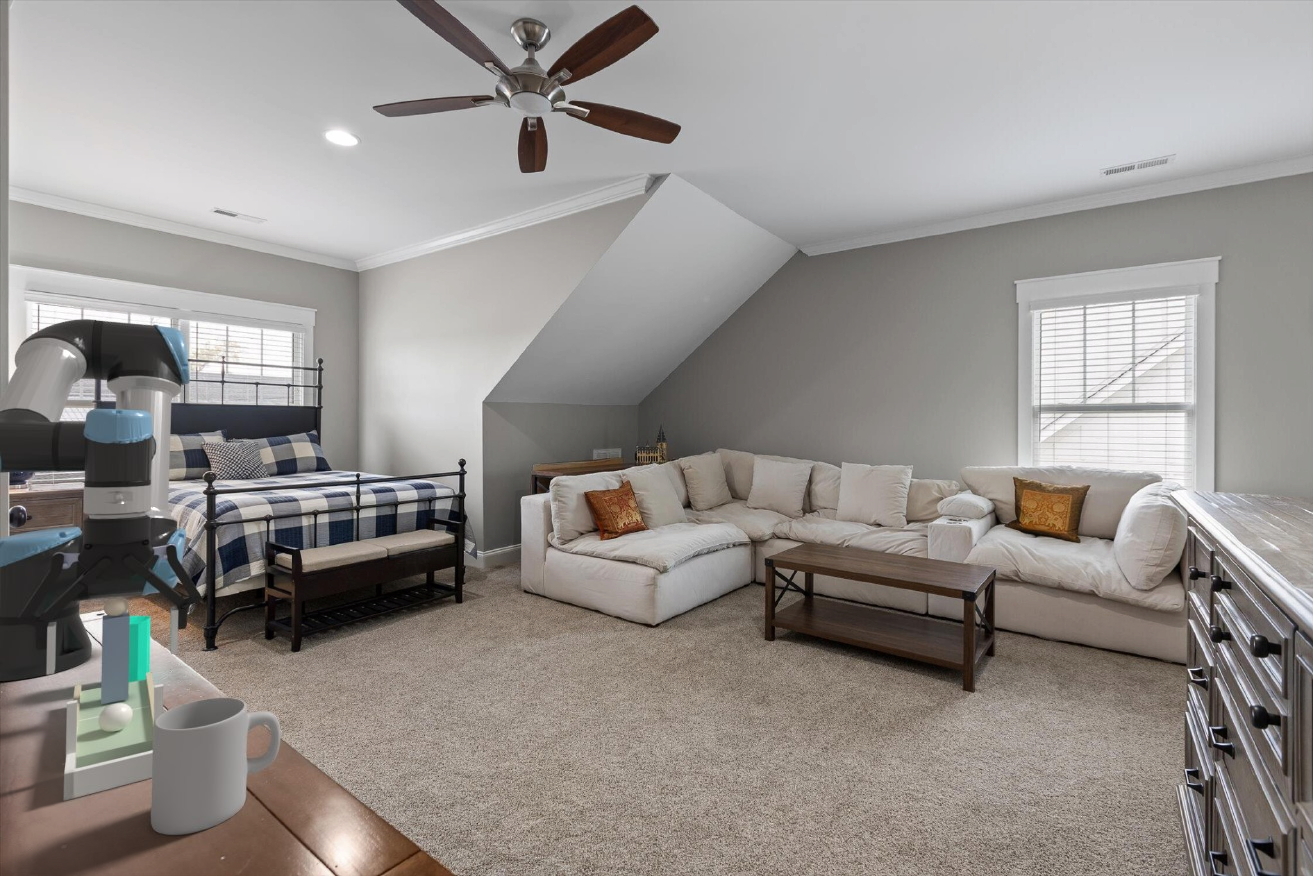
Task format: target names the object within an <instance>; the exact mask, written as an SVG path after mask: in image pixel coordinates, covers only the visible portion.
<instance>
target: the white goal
mask: <svg viewBox="0 0 1313 876" xmlns="http://www.w3.org/2000/svg"><path fill="white" fill-rule="evenodd" d="M162 713H164V683H160V684H154V721H155V720H156V718H157V717H158V716H160V715H161V714H162ZM153 725H154V724H153ZM65 729H66V733H65V735H66V736H65V737H66V739H65V742H66V743H65V764H64V765H65V766H64V773H63V774H64V775H63V776H64V777H63V801H64V802H65V801H68V800H72V799H73V800H74V799H76V798H80V797H84V796H89V795H91V794H96V793H99V792H102V791H107V790H112V789H115V788H119V787H122V786H126V785H129V784H133V783H136V782H137V783H138V782H141V781H145V780H149V779H152V764H153V750H151V751H147V752H143V753H139V754H135V755H131V756H126V757H122V758H118V759H114V760H110V761H106V762H101V763H97V764H93V765H89V766H85V767H81V768H77V769H76V753H77V700H74V701H73V700H70V701H66V728H65Z"/></svg>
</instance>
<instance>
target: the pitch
mask: <svg viewBox="0 0 1313 876" xmlns="http://www.w3.org/2000/svg"><path fill="white" fill-rule="evenodd" d="M154 685H155V683H154V677H153V672H152V671H150V672H149V673H146V679H145V680H140V681H134V682H129V691H128V699H126V700H121V701H116V702H110V703H105V704H101V687H96V688H91V689H90V688H89V689H87V690H82V684H77V685H75V686H74V691H73V699H72V701H74V700H77V753H76V769H77V768H81V767H85V766H89V765H93V764H97V763H101V762H106V761H110V760H114V759H118V758H122V757H126V756H131V755H135V754H139V753H143V752H147V751H151V750H153V724H154ZM116 703H124V704H127V705H129V706H130V707H131V709H132V711H133V717H132V720H131V721H130V723H129V724H128V725H127V726H126V727H125V728H123V729H121V730H119V731H116V732H107V731H104V730H102V729H101V728H100V726H99V724H98V718H99V716H100V714H101V712H102V711H103V710H104V709H105V708H106V707H108V706H110V705H112V704H116Z"/></svg>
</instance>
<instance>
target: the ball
mask: <svg viewBox="0 0 1313 876" xmlns="http://www.w3.org/2000/svg"><path fill="white" fill-rule="evenodd" d="M132 717H133V711H132V709H131V707H130V706H129V705H127V704H124V703H116V704H112V705H110V706H108V707H106V708H105V709H104V710H103V711H102V712H101V714H100V716H99V718H98V724H99V726H100V728H101V729H102V730H104V731H107V732H116V731H119V730H121V729H123V728H125V727H126V726H127V725H128V724H129V723H130V721H131V720H132Z"/></svg>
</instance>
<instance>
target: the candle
mask: <svg viewBox="0 0 1313 876" xmlns="http://www.w3.org/2000/svg"><path fill="white" fill-rule="evenodd" d="M127 612H129V611H128V610H127V611H126V613H127ZM150 657H151V616H149V615H130V633H129V682H134V681H140V680H145V679H146V673H149V672H151V671H150V670H151V669H150V668H151V665H150V664H151V663H150V662H151V658H150Z"/></svg>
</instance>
